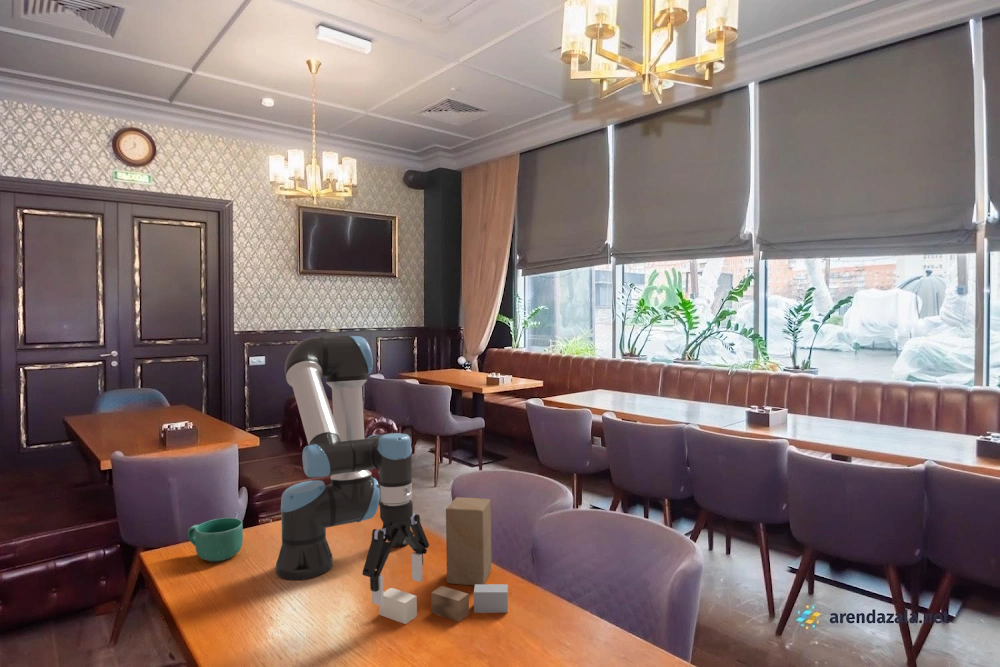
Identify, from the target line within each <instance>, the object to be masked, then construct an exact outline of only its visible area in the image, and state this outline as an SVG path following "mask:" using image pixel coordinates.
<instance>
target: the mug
mask: <svg viewBox="0 0 1000 667" xmlns="http://www.w3.org/2000/svg"><path fill="white" fill-rule="evenodd" d="M243 531H244V528H243V520H241V519H239V518H235V517H223V518H214V519H210V520H208V521H205V522H202V523H200V524H193V525H192V526H190V527H189V528H188V531H187V537H188V540H189V542H190V543H191V544H192V545H193V546H194V547H195V552H196V554H197V556H198V557H199V558H200V559H202V560H205V561H207V562H211V563H213V562H214V563H215V562H222V561H226V559H227V560H229V559H231V558H232V557H234V556H235V555H237V553H239V552H240V551H241V548H242V546H243V544H244V542H243V540H244V538H243V537H244V534H243V533H244V532H243ZM230 557H231V558H230Z"/></svg>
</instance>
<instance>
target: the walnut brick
mask: <svg viewBox="0 0 1000 667" xmlns="http://www.w3.org/2000/svg"><path fill="white" fill-rule="evenodd" d="M430 597H431V614H434V615H437V616H439V617H443V618H446V619H449V620H451V621H455V622H458V623H459V622H461V621H462V620H464V619H465V618H466V617H467V616H469V615H470V593H469V592H468V593H467V592H463V591H461V590H457V589H455V588H451V587H447V586H444V585H440V586H439V587H438V588H436V589H435V590H433V591H431V595H430Z"/></svg>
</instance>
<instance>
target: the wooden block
mask: <svg viewBox="0 0 1000 667" xmlns="http://www.w3.org/2000/svg"><path fill="white" fill-rule="evenodd" d="M491 504H492V503H491V499H490V498H478V497H476V498H475V497H458V496H456V497H455V498H454V499H453V500H452V501H451V503H450V504H449V505H448V506H447V507H446V509H445V527H446V528H445V530H446V531H445V534H446V535H445V537H446V538H445V541H446V544H445V546H446V550H445V552H446V583H447V584H453V585H454V584H455V585H463V586H464V585H465V586H474V587H475V584H485V583H486V581H487V580H488V578H489V576H490V574H491V571H492V516H491V515H492V511H491V510H492V509H491V508H492V505H491Z"/></svg>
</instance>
